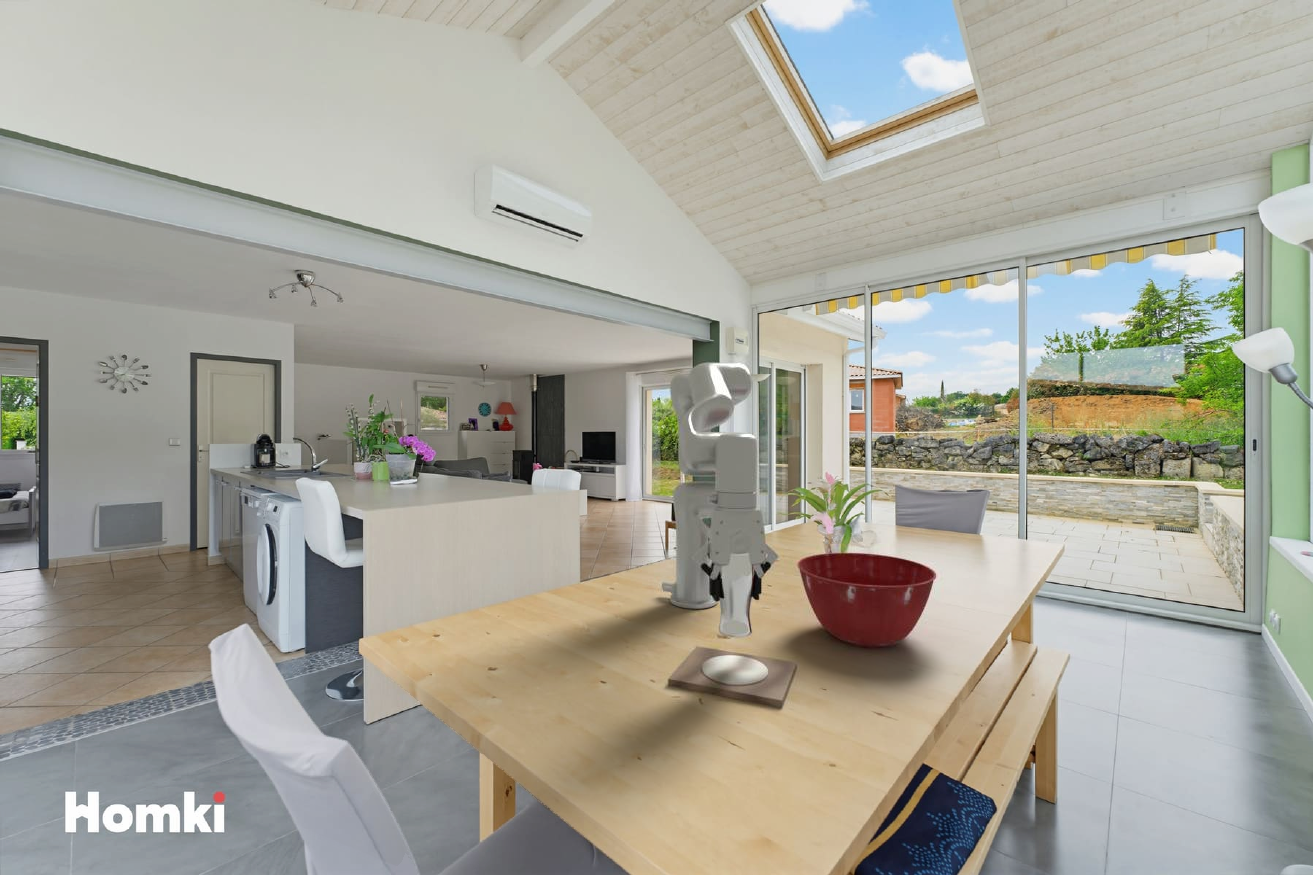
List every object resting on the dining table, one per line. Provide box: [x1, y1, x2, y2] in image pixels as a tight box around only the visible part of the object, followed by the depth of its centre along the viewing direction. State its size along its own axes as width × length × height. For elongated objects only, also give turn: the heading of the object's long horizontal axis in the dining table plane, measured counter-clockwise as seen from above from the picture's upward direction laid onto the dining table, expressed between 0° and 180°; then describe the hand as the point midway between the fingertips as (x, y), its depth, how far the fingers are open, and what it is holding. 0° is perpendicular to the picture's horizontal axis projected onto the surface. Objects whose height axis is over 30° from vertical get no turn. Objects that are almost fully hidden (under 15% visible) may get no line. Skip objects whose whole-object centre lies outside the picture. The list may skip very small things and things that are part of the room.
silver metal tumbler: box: [718, 553, 755, 638], centre depth 101 cm, size 7×7×15 cm
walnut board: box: [667, 645, 798, 709], centre depth 101 cm, size 20×16×2 cm
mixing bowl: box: [796, 552, 937, 648], centre depth 122 cm, size 28×28×16 cm
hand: (735, 597), depth 101 cm, fingers closed on silver metal tumbler, 6 cm apart
